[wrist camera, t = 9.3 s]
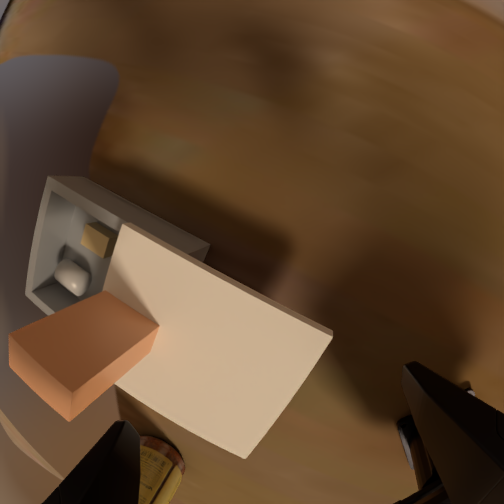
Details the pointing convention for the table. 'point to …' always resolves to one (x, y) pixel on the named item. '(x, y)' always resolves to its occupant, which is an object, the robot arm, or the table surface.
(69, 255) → the parts tub
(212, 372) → the lid
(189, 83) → the table surface
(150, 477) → the sauce bottle
